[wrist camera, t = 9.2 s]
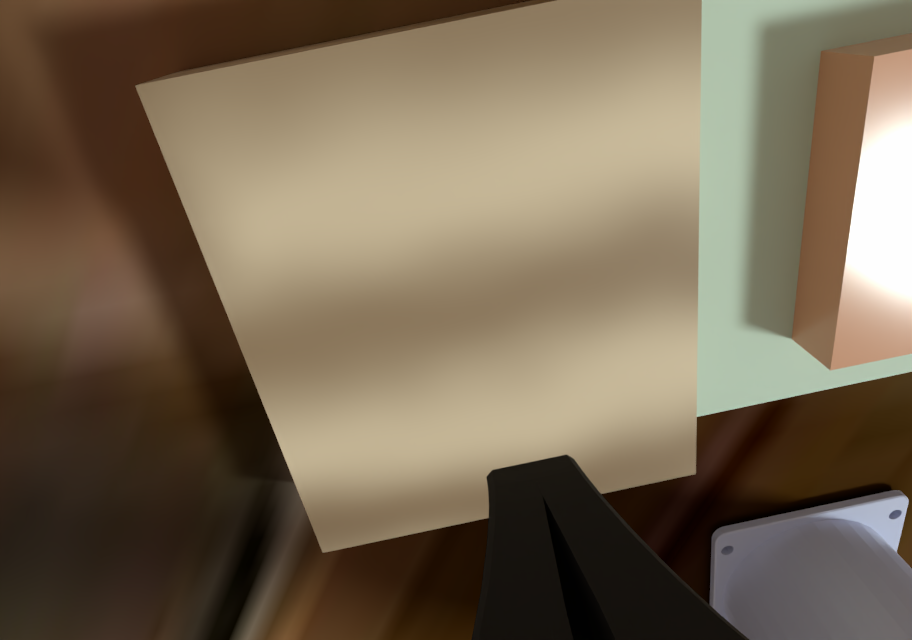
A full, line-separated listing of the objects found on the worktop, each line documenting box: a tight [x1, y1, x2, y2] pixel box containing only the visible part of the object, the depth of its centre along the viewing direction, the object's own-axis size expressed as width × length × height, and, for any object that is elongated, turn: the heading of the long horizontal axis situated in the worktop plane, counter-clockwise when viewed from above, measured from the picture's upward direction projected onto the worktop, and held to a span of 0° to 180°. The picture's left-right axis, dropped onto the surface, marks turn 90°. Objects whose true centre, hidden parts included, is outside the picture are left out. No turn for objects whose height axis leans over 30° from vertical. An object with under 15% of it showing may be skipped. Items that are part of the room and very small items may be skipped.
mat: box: [697, 0, 912, 417], centre depth 19 cm, size 14×10×1 cm
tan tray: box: [135, 0, 702, 553], centre depth 17 cm, size 14×12×3 cm
